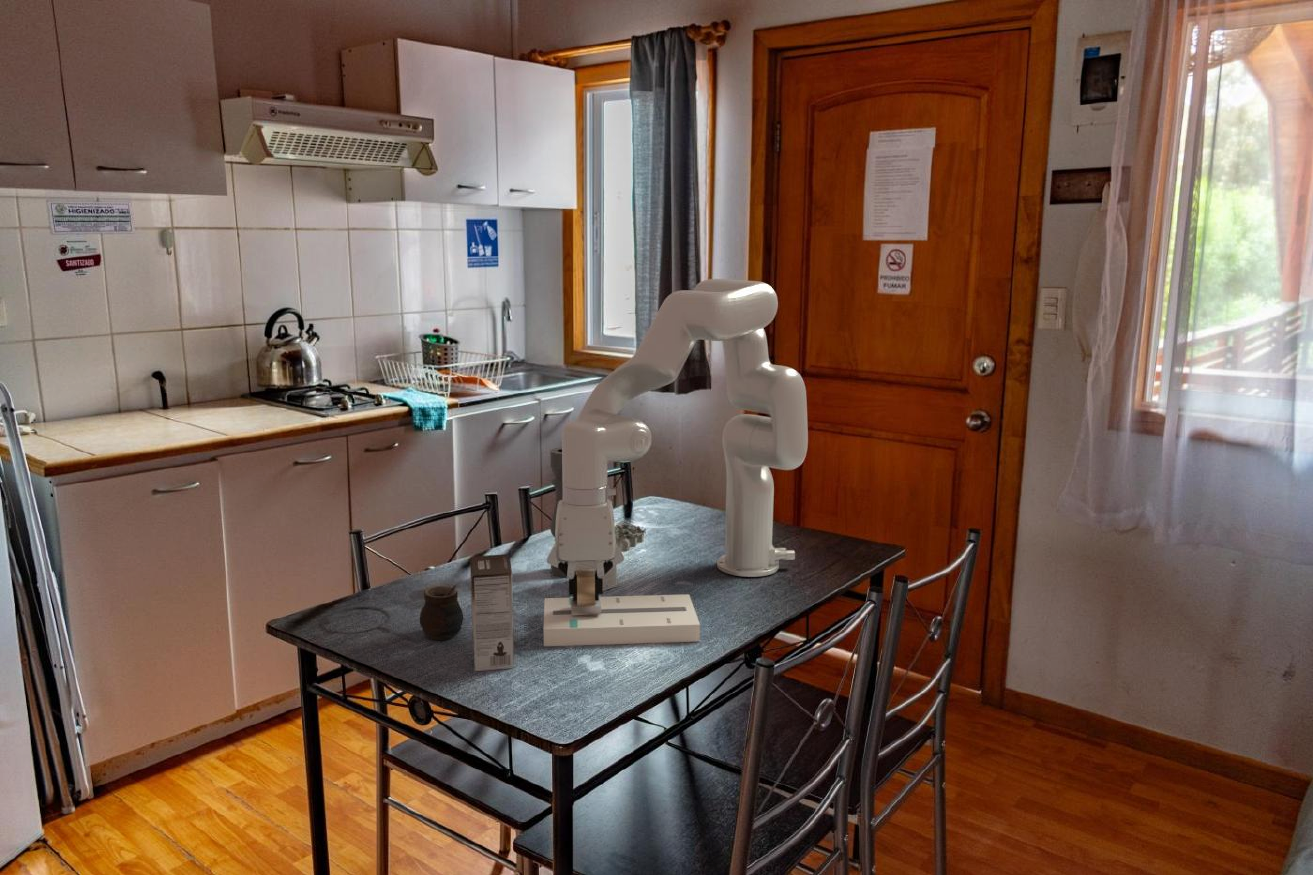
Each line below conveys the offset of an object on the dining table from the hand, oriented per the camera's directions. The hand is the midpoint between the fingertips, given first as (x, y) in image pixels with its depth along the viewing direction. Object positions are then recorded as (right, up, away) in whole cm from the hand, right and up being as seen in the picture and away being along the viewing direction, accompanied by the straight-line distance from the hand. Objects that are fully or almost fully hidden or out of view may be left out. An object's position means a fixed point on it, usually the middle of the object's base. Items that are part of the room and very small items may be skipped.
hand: (585, 597), depth 171 cm
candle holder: (-6, 0, +29) cm, 30 cm away
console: (+6, -5, +2) cm, 8 cm away
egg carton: (+5, +4, +47) cm, 48 cm away
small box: (0, -1, +22) cm, 22 cm away
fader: (0, -2, 0) cm, 2 cm away
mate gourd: (-24, -6, -2) cm, 25 cm away
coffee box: (-14, -8, -11) cm, 20 cm away
